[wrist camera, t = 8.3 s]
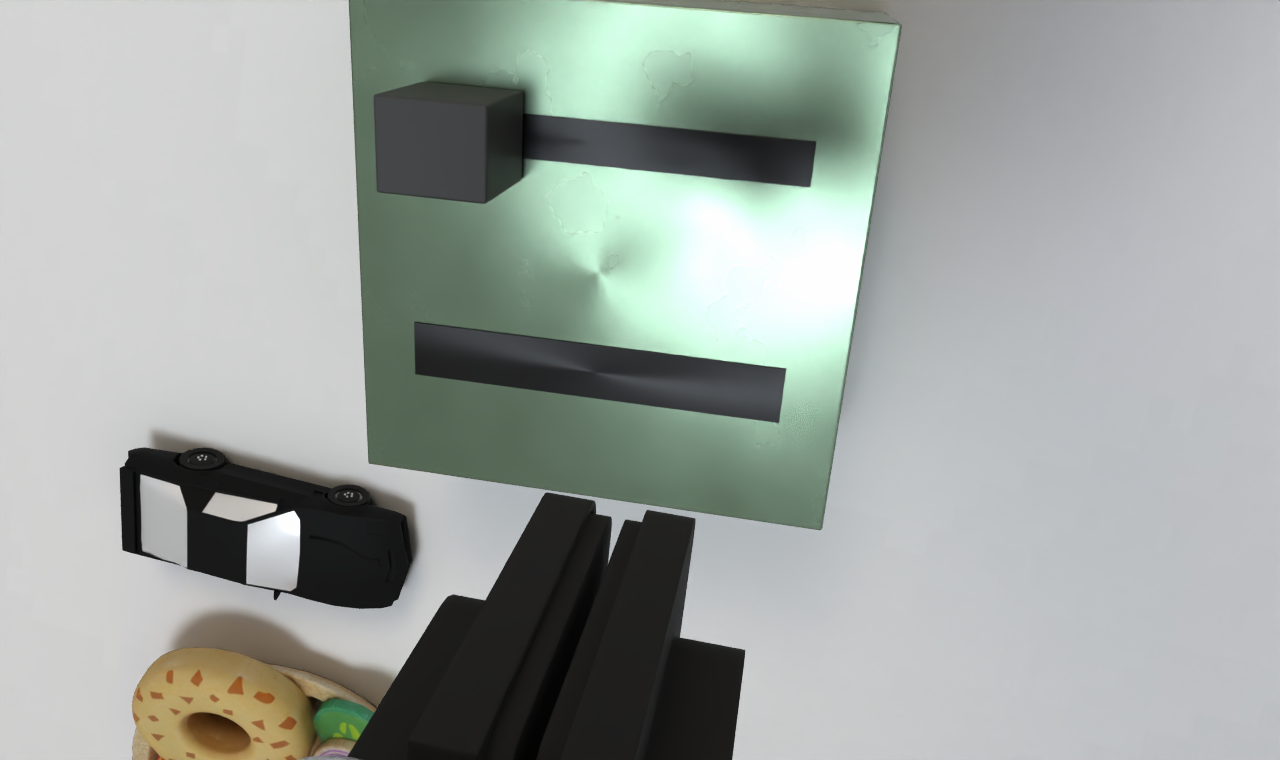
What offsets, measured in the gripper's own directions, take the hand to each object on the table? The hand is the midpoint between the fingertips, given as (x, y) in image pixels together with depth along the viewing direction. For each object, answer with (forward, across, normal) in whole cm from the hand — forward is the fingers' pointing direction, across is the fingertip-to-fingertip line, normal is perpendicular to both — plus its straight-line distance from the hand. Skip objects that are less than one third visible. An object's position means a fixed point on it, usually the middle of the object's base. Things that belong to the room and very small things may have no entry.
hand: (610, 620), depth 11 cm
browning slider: (+13, +6, -3) cm, 15 cm away
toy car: (+20, +14, +12) cm, 27 cm away
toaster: (+19, +3, 0) cm, 19 cm away
